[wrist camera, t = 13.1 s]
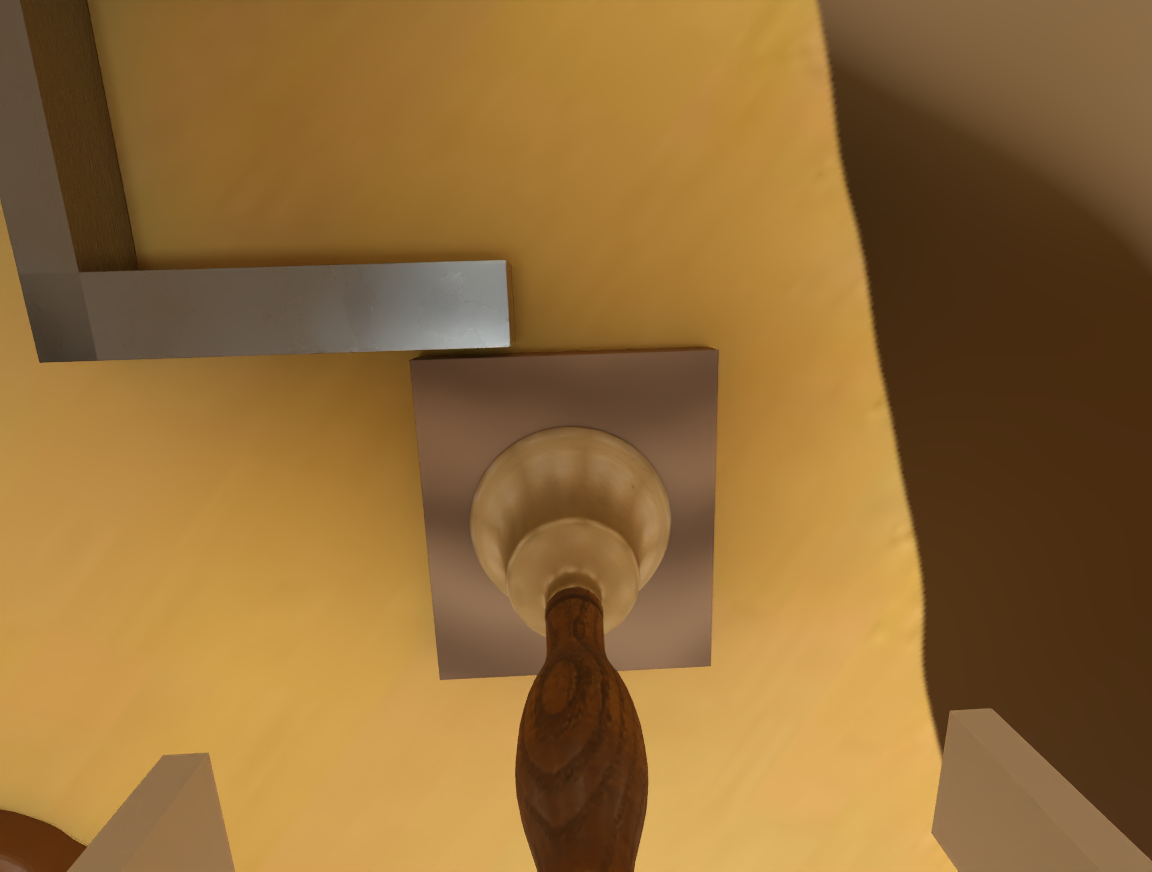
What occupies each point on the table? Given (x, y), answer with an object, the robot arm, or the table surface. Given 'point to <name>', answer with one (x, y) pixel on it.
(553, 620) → the hand bell
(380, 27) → the table surface
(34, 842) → the plant
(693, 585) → the walnut board
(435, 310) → the silver c-shaped bracket
